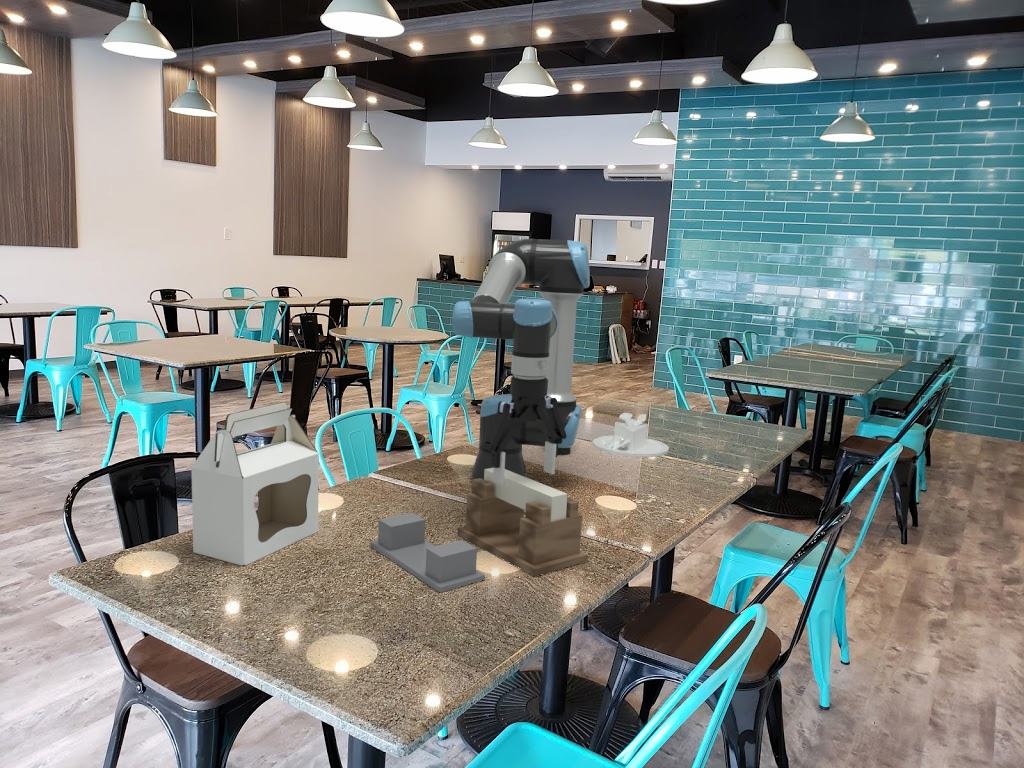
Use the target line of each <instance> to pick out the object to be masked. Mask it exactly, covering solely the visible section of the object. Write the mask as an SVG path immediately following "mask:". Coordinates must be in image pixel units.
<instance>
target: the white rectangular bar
mask: <svg viewBox="0 0 1024 768" xmlns="http://www.w3.org/2000/svg"><path fill="white" fill-rule="evenodd" d="M484 480H485V481H488V482H490V483H492V484H494V492H493V496H495V497H497V498H499V499H501V500H504V501H506V502H508V503H510V504H512V505H515V506H517V507H519V508H521V509H524V511H525V510H526V503H527V502H532V501H534V502H537V503H539V504H541V505H544V506H546V507H548V508H550V522H552V521H556V520H560V519H564V518H566V509H567V498H568V493H566V492H564V491H562V490H558V489H556V488H554V487H551V486H549V485H546V484H544V483H540V482H538V481H536V480H533V479H531V478H528V477H527V478H526V477H524V476H521V475H519V474H516V473H514V472H511V471H509V470H506V469H505V471H504V484H502V485H501V484H498V483H496V482H494V481H493V468H489V469H485V471H484Z"/></svg>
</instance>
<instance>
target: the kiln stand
mask: <svg viewBox="0 0 1024 768" xmlns="http://www.w3.org/2000/svg"><path fill="white" fill-rule="evenodd" d="M377 530H378V534H377V535H378V538H377V539H376V540H371V541H369V544H370V545H369V547H371V548H372V549H374V551H375V550H376V551H377V552H378V553H380V554H382V555H383V556H384V557H385V558H387V559H389V561H391V562H393V563H395V564H396V565H397V566H399V567H400V568H402V569H403V570H405V571H407V572H408V573H410V574H411V575H413V576H414V577H415V578H417V579H419V580H420V581H422V582H423V583H424V584H426V585H428V586H429V587H431V588H432V589H433V590H435V591H436V592H438V593H439V592H440V593H444V592H448V591H452V590H455V589H460V588H462V587H461V586H463V587H466V586H468V585H467V584H470V585H472V584H471V583H473V584H476V583H475V582H477V583H479V581H480V582H483V581H482V580H484V581H485V580H486V575H485V574H484V573H481V571H479V570H477V560H478V559H477V556H478V548H477V547H475V546H474V545H472V544H470V543H468V542H466V541H465V540H463V539H460V540H459V539H458V540H455V541H451V542H447V543H444V544H443V543H442V544H439V545H434V544H433V543H431V542H429V541H428V540H426V519H424V518H423V517H421V516H419V515H418V514H416V513H413V512H409V513H404V514H401V515H394V516H390V517H385V518H380V519H378V529H377ZM465 585H466V586H465ZM451 589H452V590H451Z"/></svg>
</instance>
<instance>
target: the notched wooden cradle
mask: <svg viewBox="0 0 1024 768" xmlns="http://www.w3.org/2000/svg"><path fill="white" fill-rule="evenodd" d="M471 481H472V482H471V483H472V484H471V492H469V493H467V494H466V506H465V507H466V511H465V515H466V516H465V526H460V527H457V535H458V537H459V536H460V537H461V538H463V539H465V540H466V541H469V542H470V543H472V544H474V545H476V546H478V547H479V548H481V549H483V550H485V551H486V552H489V554H492V555H494V556H495V557H497V556H498V558H499V557H500V559H501V558H502V559H501V560H503V559H504V560H503V561H505V560H506V561H505V562H507V561H508V562H510V563H511V564H510V563H509V564H510V565H512V564H513V565H512V566H514V565H515V566H514V567H516V566H517V567H516V568H518V567H519V568H521V569H522V571H523V570H524V571H523V572H525V571H526V572H525V573H527V572H528V573H527V574H529V573H530V574H532V575H534V576H537V577H539V576H538V575H541V574H544V575H546V574H545V573H547V574H549V573H548V572H551V573H553V572H552V571H554V572H557V571H556V570H558V569H561V570H563V569H562V568H564V569H566V568H565V567H568V568H570V566H571V567H573V566H574V565H575V566H578V565H581V564H583V563H584V564H585V563H588V562H589V554H587V553H586V552H584V551H581V540H582V539H581V538H582V536H581V534H582V522H583V515H582V514H580V513H579V501H577V500H574V499H572V498H570V497H567V509H566V518H564V519H560V520H556V521H552V522H550V508H548V507H546V506H544V505H541V504H539V503H537V502H534V501H532V502H527V503H526V510H524V509H521V508H519V507H517V506H515V505H512V504H510V503H508V502H506V501H504V500H501V499H499V498H497V497H495V496H493V492H494V484H492V483H490V482H488V481H485V480H483V479H481V478H478V479H471ZM524 513H525V514H524ZM508 562H507V563H508ZM577 564H578V565H577ZM519 568H518V569H519ZM521 569H520V570H521ZM558 571H559V570H558ZM530 574H529V575H530ZM532 575H531V576H532ZM534 576H533V577H534ZM541 576H542V575H541Z"/></svg>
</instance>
